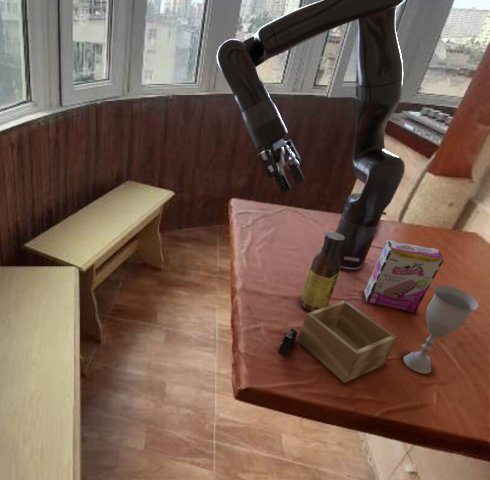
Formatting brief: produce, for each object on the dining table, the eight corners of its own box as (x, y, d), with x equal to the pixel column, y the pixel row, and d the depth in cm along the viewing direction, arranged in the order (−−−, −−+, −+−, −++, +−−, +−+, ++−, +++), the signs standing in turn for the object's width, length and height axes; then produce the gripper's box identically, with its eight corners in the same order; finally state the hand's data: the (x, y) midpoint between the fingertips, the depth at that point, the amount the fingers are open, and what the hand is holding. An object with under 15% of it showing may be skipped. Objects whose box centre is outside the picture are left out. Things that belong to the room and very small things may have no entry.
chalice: (391, 351, 90) (425, 285, 81) (420, 350, 91) (457, 285, 82) (413, 378, 84) (453, 310, 75) (444, 377, 85) (487, 309, 75)
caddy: (334, 326, 97) (344, 299, 92) (383, 365, 87) (397, 337, 83) (297, 340, 92) (306, 313, 88) (344, 383, 82) (357, 354, 78)
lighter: (280, 348, 93) (289, 326, 93) (290, 352, 92) (298, 330, 92) (274, 351, 86) (284, 328, 86) (284, 356, 85) (294, 333, 85)
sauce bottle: (328, 316, 100) (355, 246, 89) (301, 312, 101) (324, 242, 90) (323, 299, 105) (347, 231, 95) (297, 295, 106) (318, 227, 96)
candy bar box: (366, 303, 104) (389, 248, 96) (363, 292, 108) (385, 238, 100) (416, 314, 101) (445, 259, 93) (411, 302, 105) (438, 248, 97)
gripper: (265, 120, 88) (297, 188, 88) (290, 111, 98) (319, 173, 98) (236, 136, 94) (267, 201, 94) (263, 126, 103) (291, 185, 104)
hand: (294, 186), depth 96 cm, fingers open, 8 cm apart
